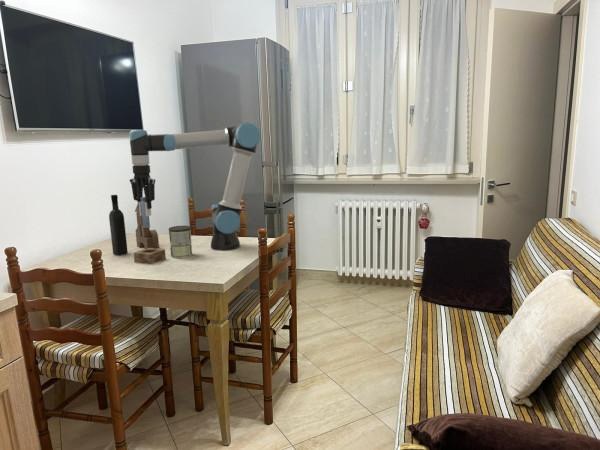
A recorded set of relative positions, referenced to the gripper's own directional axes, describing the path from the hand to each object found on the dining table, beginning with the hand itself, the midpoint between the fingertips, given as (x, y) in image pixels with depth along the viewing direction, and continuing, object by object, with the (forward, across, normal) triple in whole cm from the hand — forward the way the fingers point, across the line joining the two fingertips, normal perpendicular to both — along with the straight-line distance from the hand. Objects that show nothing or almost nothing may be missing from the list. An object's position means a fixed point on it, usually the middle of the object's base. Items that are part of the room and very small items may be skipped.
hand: (145, 215), depth 201 cm
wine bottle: (+22, +24, -5) cm, 33 cm away
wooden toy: (+22, +21, -21) cm, 37 cm away
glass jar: (+22, -9, -12) cm, 27 cm away
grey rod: (+6, 0, 0) cm, 6 cm away
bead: (+22, 0, 0) cm, 22 cm away
